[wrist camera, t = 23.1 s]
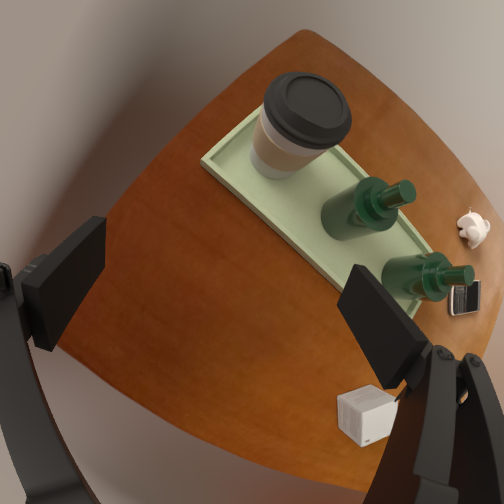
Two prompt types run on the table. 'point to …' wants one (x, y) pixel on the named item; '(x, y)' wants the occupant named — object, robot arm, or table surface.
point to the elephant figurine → (473, 228)
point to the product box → (366, 414)
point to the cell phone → (465, 299)
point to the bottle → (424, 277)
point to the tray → (310, 208)
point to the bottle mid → (365, 208)
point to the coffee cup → (297, 123)
